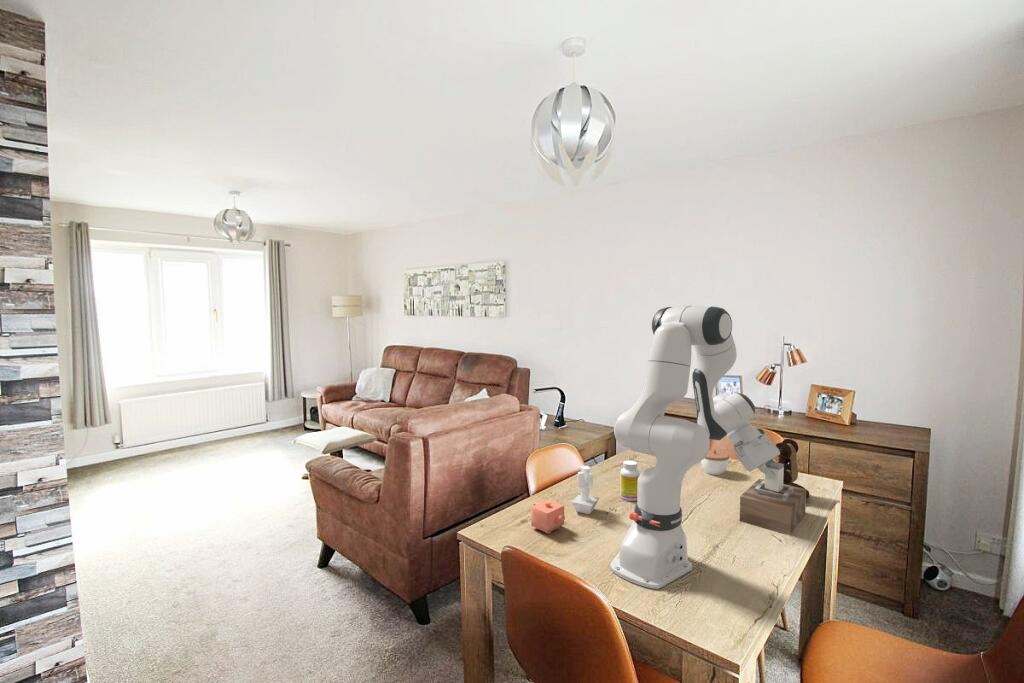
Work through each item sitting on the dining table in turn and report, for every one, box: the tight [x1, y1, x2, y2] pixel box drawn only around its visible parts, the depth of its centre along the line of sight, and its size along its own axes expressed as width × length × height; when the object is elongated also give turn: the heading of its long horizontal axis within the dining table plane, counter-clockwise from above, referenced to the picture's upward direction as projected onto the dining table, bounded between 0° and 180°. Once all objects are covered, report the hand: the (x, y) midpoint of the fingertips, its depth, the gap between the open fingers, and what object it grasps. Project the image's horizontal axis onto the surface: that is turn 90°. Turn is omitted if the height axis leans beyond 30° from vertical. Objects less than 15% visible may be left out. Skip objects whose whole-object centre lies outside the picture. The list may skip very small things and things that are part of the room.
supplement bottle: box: [619, 460, 641, 502], centre depth 165 cm, size 7×7×13 cm
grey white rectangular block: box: [764, 461, 784, 492], centre depth 149 cm, size 4×4×8 cm
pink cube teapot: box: [530, 499, 566, 535], centre depth 143 cm, size 8×12×8 cm, turn 44°
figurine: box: [570, 465, 600, 515], centre depth 155 cm, size 7×9×15 cm
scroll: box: [775, 438, 810, 500], centre depth 165 cm, size 15×15×20 cm
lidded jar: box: [700, 449, 730, 476], centre depth 189 cm, size 11×11×9 cm
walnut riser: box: [739, 478, 807, 536], centre depth 149 cm, size 20×14×10 cm
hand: (776, 475), depth 148 cm, fingers closed on grey white rectangular block, 4 cm apart
